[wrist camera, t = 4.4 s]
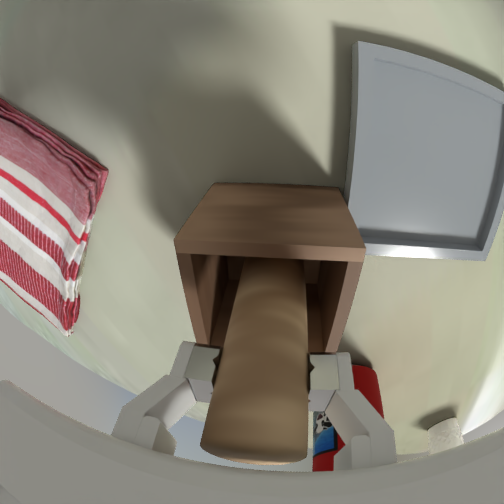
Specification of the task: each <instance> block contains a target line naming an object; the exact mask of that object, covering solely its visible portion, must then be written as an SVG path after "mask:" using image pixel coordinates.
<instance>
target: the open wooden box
mask: <svg viewBox="0 0 504 504" xmlns="http://www.w3.org/2000/svg"><path fill="white" fill-rule="evenodd" d="M174 245H175V250H176V255H177V260H178V265H179V270H180V275H181V279H182V284H183V289H184V293H185V297H186V302H187V306H188V310H189V314H190V319H191V323H192V327H193V331H194V334H195V338H196V342H197V343H201V344H208V345H215V346H222V348H223V347H224V342H225V338H226V334H227V330H228V326H229V322H230V318H231V314H232V310H233V306H234V302H235V297H236V293H237V289H238V285H239V281H240V277H241V273H242V269H243V265H244V261H245V257H266V258H287V259H304V269H305V286H306V305H307V330H308V353H309V352H335V353H336V352H337V349H338V346H339V343H340V341H341V338H342V335H343V331H344V328H345V325H346V322H347V319H348V316H349V312H350V309H351V306H352V302H353V299H354V295H355V292H356V288H357V284H358V281H359V277H360V273H361V269H362V265H363V261H364V257H365V252H366V246H365V244H364V242H363V240H362V237H361V235H360V233H359V230H358V228H357V226H356V224H355V222H354V219H353V217H352V215H351V213H350V211H349V209H348V207H347V205H346V203H345V201H344V198H343V196H342V194H341V192H340V190H339V188H338V187H326V186H310V185H291V184H264V183H214V184H213V185H212V186H211V188H210V189H209V190H208V192H207V193H206V194H205V196H204V197H203V199H202V200H201V201H200V203H199V204H198V205H197V207H196V208H195V210H194V211H193V212H192V214H191V215H190V217H189V218H188V219H187V221H186V222H185V224H184V225H183V227H182V228H181V230H180V231H179V232H178V234H177V235H176V237H175V238H174Z"/></svg>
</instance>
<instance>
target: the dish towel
mask: <svg viewBox="0 0 504 504" xmlns="http://www.w3.org/2000/svg"><path fill="white" fill-rule="evenodd" d="M108 171H109V170H108V169H106V168H104V167H102V166H101V165H100V164H99V163H97V162H95V161H94V160H92V159H90V158H88V157H87V156H86V155H84V154H83V153H82V152H80V151H78V150H77V149H75V148H74V147H72V146H71V145H69V144H68V143H67V142H66V141H64V140H63V139H61V138H60V137H59V136H57V135H56V134H54V133H53V132H51V131H50V130H48V129H47V128H45V127H44V126H42V125H40V124H39V123H37V122H36V121H34V120H32V119H31V118H29V117H28V116H26V115H24V114H23V113H21V112H19V111H18V110H16V109H15V108H13V107H12V106H10V105H9V104H8V103H7V102H6V101H4V100H2V99H1V98H0V280H1V281H2V282H3V283H5V284H6V285H7V286H8V287H9V288H10V289H11V290H12V291H13V292H14V293H16V294H17V295H18V296H19V297H20V298H21V299H22V300H23V301H24V302H26V303H27V304H28V305H30V306H31V307H32V308H33V309H35V310H36V311H37V312H38V313H40V314H41V315H43V316H44V317H45V318H46V319H47V320H48V321H49V322H51V323H52V324H53V325H54V326H55V327H56V328H58V329H59V330H60V331H61V332H62V333H63V334H64V335H65V336H67V337H69V336H71V334H73V333H74V331H73V325H74V323H76V321H77V319H78V315H79V308H80V294H79V291H80V282H81V277H82V272H83V267H84V261H85V257H86V251H87V245H88V240H89V236H90V232H91V227H92V221H93V218H94V215H95V211H96V206H97V203H98V201H99V199H100V197H101V195H102V192H103V189H104V185H105V182H106V179H107V175H108Z"/></svg>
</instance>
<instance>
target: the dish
mask: <svg viewBox="0 0 504 504" xmlns="http://www.w3.org/2000/svg"><path fill="white" fill-rule="evenodd" d="M343 198H344V201H345V203H346V205H347V207H348V209H349V211H350V213H351V215H352V217H353V219H354V222H355V224H356V226H357V228H358V230H359V233H360V235H361V237H362V240H363V242H364V244H365V246H366V252H365V255H378V256H397V257H417V258H436V259H455V260H474V261H485V260H486V258H487V256H488V253H489V251H490V248H491V246H492V243H493V240H494V237H495V235H496V232H497V229H498V226H499V223H500V220H501V217H502V213H503V210H504V92H503V91H502V90H500V89H498V88H496V87H494V86H492V85H490V84H488V83H486V82H484V81H482V80H480V79H478V78H476V77H474V76H472V75H470V74H467V73H465V72H463V71H460V70H458V69H456V68H453V67H451V66H448V65H445V64H443V63H440V62H437V61H434V60H432V59H429V58H426V57H423V56H419V55H416V54H413V53H409V52H406V51H402V50H398V49H395V48H391V47H386V46H382V45H378V44H373V43H368V42H362V41H357V42H356V43H354V44H353V45H352V96H351V119H350V135H349V149H348V160H347V171H346V180H345V189H344V197H343Z"/></svg>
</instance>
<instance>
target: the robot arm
mask: <svg viewBox="0 0 504 504" xmlns="http://www.w3.org/2000/svg"><path fill="white" fill-rule="evenodd" d="M222 351H223V348H222V346H215V345H208V344H201V343H195V342H188V341H183V342H182V343H181V345H180V348H179V350H178V353H177V356H176V358H175V361H174V364H173V367H172V369H171V372H170V375H165V376H163V377H162V378H161V379H159V380H158V381H157V382H156V383H154V384H153V385H152V386H150V387H149V388H148V389H146V390H145V391H143V392H142V393H141V394H139V395H138V396H137V397H135V398H134V399H133V400H131V401H130V402H129V403H127V404H126V405H124V406H123V407H122V409H121V412H120V414H119V417H118V419H117V422H116V424H115V427H114V429H113V432H112V434H111V435H108V434H106V433H103V432H101V431H98V430H96V429H94V428H91V427H89V426H87V425H85V424H83V423H81V422H78V421H76V420H74V419H72V418H70V417H68V416H66V415H64V414H62V413H61V412H59V411H57V410H55V409H53V408H52V407H50V406H48V405H46V404H45V403H43V402H41V401H39V400H38V399H36V398H35V397H33V396H31V395H30V394H28V393H27V392H25V391H24V390H22V389H21V388H19V387H17V386H16V385H15V384H13V383H12V382H10V381H8V380H2V381H0V504H504V427H503V428H500V429H498V430H496V431H494V432H492V433H490V434H487V435H485V436H483V437H480V438H478V439H475V440H473V441H470V442H468V443H465V444H462V445H459V446H457V447H454V448H451V449H448V450H444V451H441V452H438V453H434V454H431V455H427V456H423V457H420V458H416V459H412V460H407V461H402V462H397V456H396V446H395V437H394V430H393V429H392V428H391V427H390V426H389V425H388V424H387V422H386V421H385V420H384V419H383V418H382V417H381V415H380V414H379V413H378V412H377V411H376V410H375V409H374V407H373V406H372V405H371V404H370V403H369V402H368V400H367V399H366V398H365V397H364V396H363V395H362V393H361V392H360V391H359V390H354V381H353V373H352V366H351V358H350V354H349V353H348V352H339V353H335V352H309V353H308V411H325V414H326V415H327V417H328V418H329V420H330V421H331V423H332V425H333V426H334V428H335V429H336V431H337V432H338V434H339V435H340V437H341V438H342V440H343V441H344V443H345V446H344V447H343V448H342V449H341V450H340V451H339V452H338V453H337V454H336V455H335V456H334V471H319V472H283V471H265V470H253V469H243V468H235V467H227V466H221V465H215V464H209V463H204V462H198V461H194V460H189V459H185V458H180V457H176V456H174V452H175V447H176V444H177V441H176V440H175V439H174V437H173V436H172V435H171V434H170V433H169V432H168V430H169V429H170V428H171V427H172V426H173V425H174V424H175V423H176V422H177V421H178V420H179V419H180V418H181V417H182V416H183V415H184V414H185V413H186V412H187V411H188V410H189V409H190V408H191V407H192V406H193V405H194V404H195V403H196V401H199V402H206V403H210V400H211V396H212V392H213V388H214V384H215V380H216V376H217V371H218V367H219V363H220V359H221V355H222Z"/></svg>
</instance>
